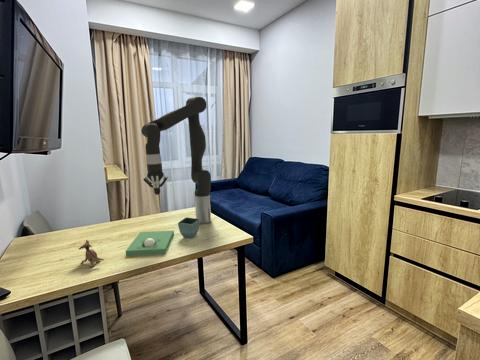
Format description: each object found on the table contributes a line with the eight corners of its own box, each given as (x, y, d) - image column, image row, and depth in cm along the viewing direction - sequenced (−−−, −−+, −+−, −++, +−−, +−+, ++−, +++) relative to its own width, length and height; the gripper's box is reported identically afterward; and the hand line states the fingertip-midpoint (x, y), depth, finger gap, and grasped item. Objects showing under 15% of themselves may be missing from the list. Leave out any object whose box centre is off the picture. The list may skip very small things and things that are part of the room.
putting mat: (174, 234, 140) (173, 230, 139) (165, 253, 118) (165, 248, 118) (140, 236, 138) (140, 231, 138) (126, 255, 117) (125, 250, 116)
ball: (153, 247, 120) (155, 249, 124) (154, 236, 122) (156, 239, 127) (142, 247, 119) (145, 250, 124) (143, 237, 122) (146, 240, 126)
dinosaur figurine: (76, 261, 112) (73, 242, 110) (90, 256, 117) (87, 237, 115) (92, 270, 105) (89, 250, 103) (106, 264, 110) (104, 244, 108)
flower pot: (193, 240, 132) (192, 224, 130) (178, 238, 135) (177, 222, 133) (200, 234, 140) (200, 218, 138) (186, 232, 143) (186, 217, 141)
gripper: (168, 161, 137) (171, 192, 140) (143, 162, 136) (146, 193, 139) (165, 163, 129) (168, 195, 133) (139, 164, 128) (142, 197, 132)
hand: (157, 194), depth 136 cm, fingers closed
